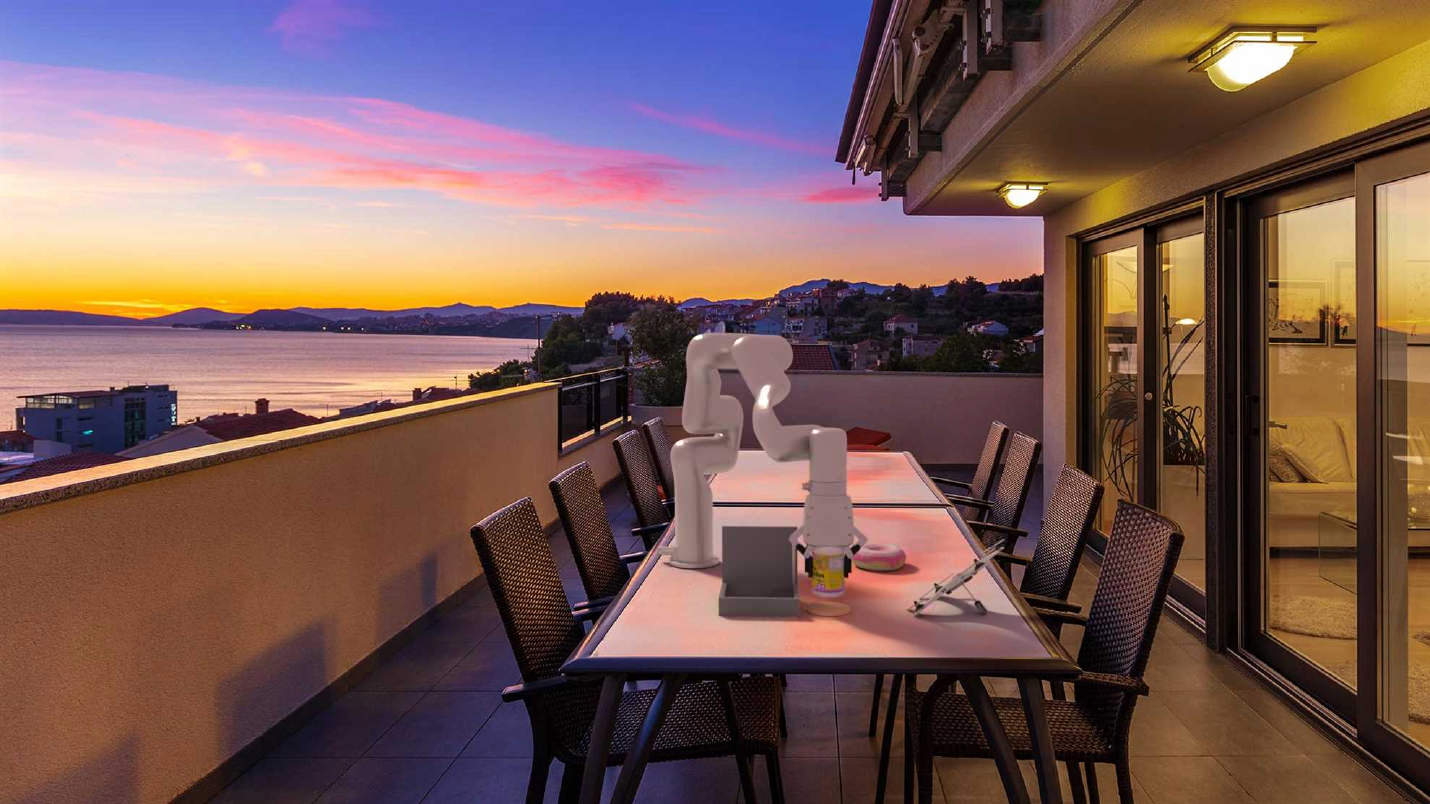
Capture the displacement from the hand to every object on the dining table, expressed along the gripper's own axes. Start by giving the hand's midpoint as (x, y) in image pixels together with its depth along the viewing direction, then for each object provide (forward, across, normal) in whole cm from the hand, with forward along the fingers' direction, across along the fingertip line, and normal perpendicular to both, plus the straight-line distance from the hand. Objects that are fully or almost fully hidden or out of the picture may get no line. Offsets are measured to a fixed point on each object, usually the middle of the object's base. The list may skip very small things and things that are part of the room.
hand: (828, 575), depth 169 cm
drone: (+7, +26, +1) cm, 27 cm away
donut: (+7, +15, +37) cm, 41 cm away
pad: (+7, 0, 0) cm, 7 cm away
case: (+7, -14, +1) cm, 16 cm away
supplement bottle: (+4, 0, 0) cm, 4 cm away
